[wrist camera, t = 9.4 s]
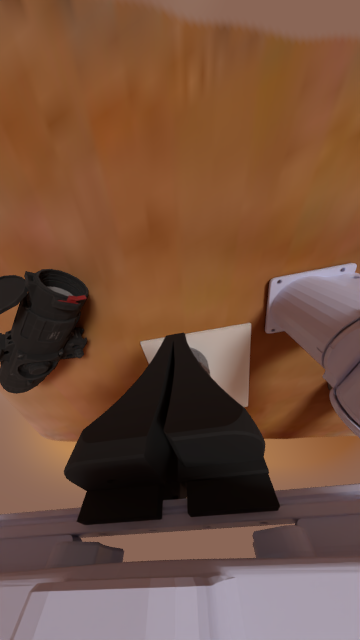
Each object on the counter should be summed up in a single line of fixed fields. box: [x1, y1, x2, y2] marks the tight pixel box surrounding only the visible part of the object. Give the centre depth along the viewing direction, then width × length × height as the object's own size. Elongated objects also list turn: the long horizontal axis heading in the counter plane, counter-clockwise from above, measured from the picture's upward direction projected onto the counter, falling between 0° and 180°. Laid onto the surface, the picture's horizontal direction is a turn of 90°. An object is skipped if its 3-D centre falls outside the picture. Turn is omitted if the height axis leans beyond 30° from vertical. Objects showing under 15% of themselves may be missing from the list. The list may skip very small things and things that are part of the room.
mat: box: [140, 323, 251, 407], centre depth 27 cm, size 16×20×1 cm
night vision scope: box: [0, 269, 88, 394], centre depth 18 cm, size 8×18×10 cm
